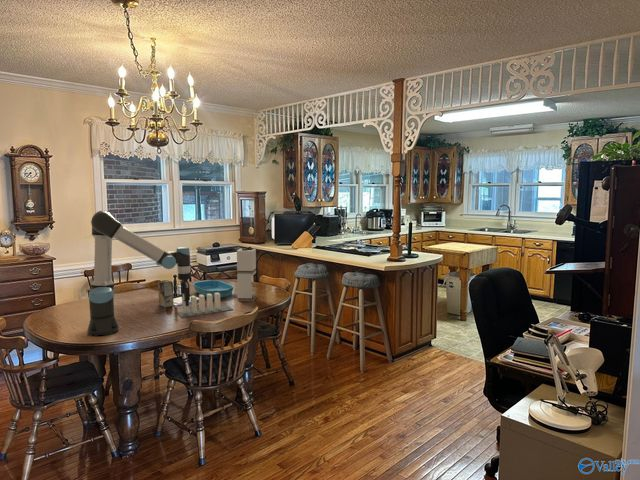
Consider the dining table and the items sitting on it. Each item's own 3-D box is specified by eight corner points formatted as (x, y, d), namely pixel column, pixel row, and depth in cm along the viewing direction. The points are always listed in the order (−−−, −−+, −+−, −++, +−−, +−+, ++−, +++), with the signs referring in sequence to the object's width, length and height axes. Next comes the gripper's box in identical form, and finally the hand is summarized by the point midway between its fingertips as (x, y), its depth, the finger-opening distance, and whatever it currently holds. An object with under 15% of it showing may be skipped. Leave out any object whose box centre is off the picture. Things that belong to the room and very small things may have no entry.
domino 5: (217, 309, 268) (216, 294, 267) (214, 308, 272) (214, 292, 271) (220, 309, 269) (220, 294, 268) (218, 307, 273) (217, 292, 272)
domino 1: (184, 311, 257) (184, 295, 256) (182, 309, 262) (182, 293, 260) (188, 311, 259) (187, 295, 257) (186, 309, 263) (185, 293, 262)
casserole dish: (238, 296, 304) (238, 286, 303) (209, 301, 290) (209, 291, 290) (216, 287, 333) (216, 278, 332) (189, 291, 319) (188, 282, 318)
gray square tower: (253, 301, 291) (252, 250, 287) (237, 301, 291) (236, 250, 287) (256, 297, 302) (255, 248, 298) (241, 296, 303) (240, 248, 298)
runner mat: (181, 318, 253) (181, 317, 253) (177, 313, 263) (176, 312, 263) (233, 310, 270) (233, 309, 270) (226, 305, 280) (226, 304, 280)
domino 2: (193, 313, 260) (192, 297, 259) (191, 311, 264) (190, 295, 263) (196, 313, 261) (196, 297, 260) (194, 311, 266) (194, 295, 264)
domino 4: (209, 311, 265) (208, 295, 264) (207, 309, 270) (206, 293, 268) (212, 310, 266) (212, 295, 265) (210, 308, 271) (210, 293, 270)
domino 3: (201, 312, 263) (200, 296, 262) (199, 310, 267) (198, 294, 266) (205, 311, 264) (204, 296, 263) (202, 309, 268) (202, 294, 267)
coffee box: (174, 305, 280) (173, 281, 278) (165, 307, 276) (164, 283, 274) (167, 303, 287) (166, 279, 285) (158, 304, 282) (157, 281, 280)
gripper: (194, 274, 252) (196, 312, 254) (186, 269, 267) (188, 305, 270) (181, 275, 248) (183, 314, 251) (174, 270, 263) (176, 307, 266)
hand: (186, 309), depth 260 cm, fingers closed on domino 1, 5 cm apart
